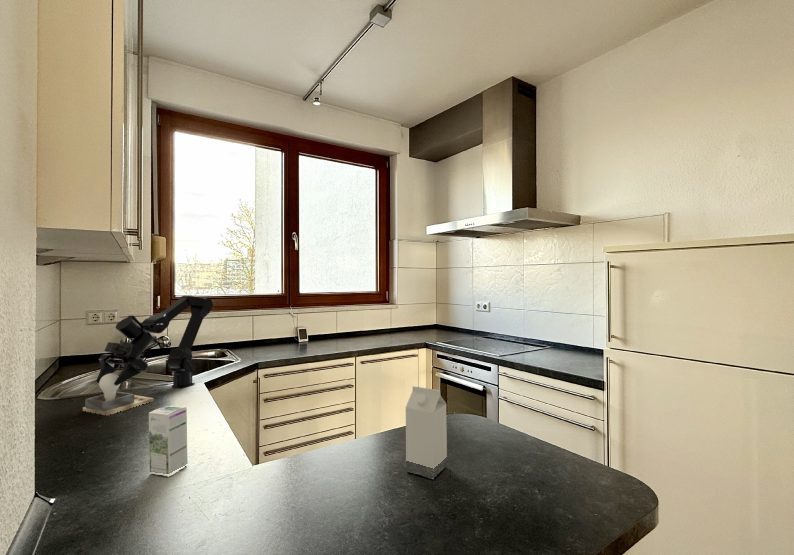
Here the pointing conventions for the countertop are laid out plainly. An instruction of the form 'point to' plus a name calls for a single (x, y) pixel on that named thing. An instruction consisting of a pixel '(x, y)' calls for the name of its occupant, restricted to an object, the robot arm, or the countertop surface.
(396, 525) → the countertop surface
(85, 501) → the countertop surface
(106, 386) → the lightbulb
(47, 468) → the countertop surface
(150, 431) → the syrup box
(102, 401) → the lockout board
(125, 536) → the countertop surface
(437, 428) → the milk carton
